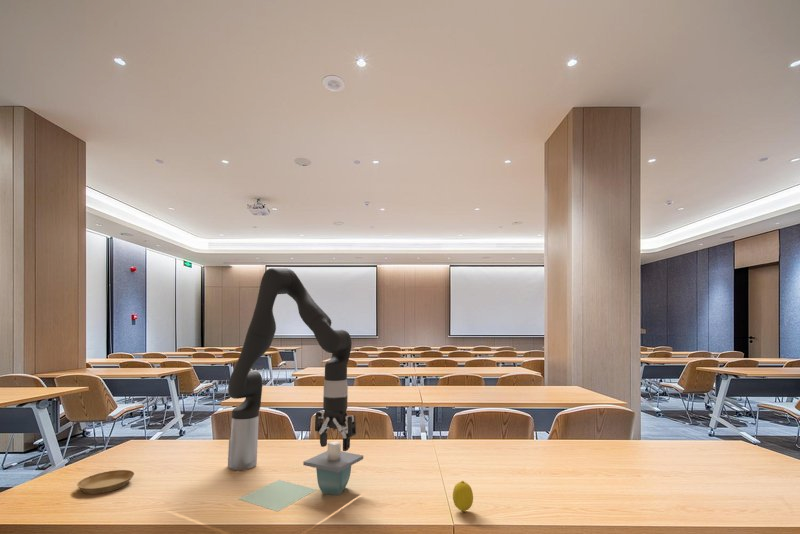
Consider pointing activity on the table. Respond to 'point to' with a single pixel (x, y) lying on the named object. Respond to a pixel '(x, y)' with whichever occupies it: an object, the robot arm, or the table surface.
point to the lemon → (462, 496)
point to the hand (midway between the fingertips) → (334, 448)
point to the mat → (277, 495)
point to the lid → (333, 459)
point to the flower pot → (333, 480)
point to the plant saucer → (105, 481)
